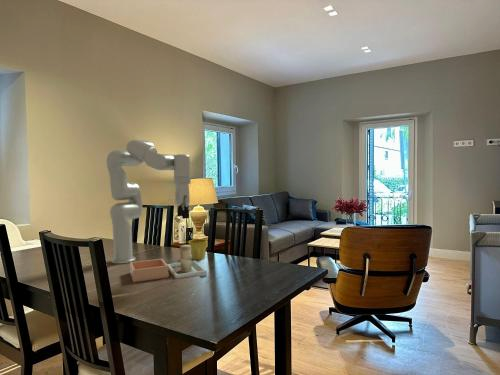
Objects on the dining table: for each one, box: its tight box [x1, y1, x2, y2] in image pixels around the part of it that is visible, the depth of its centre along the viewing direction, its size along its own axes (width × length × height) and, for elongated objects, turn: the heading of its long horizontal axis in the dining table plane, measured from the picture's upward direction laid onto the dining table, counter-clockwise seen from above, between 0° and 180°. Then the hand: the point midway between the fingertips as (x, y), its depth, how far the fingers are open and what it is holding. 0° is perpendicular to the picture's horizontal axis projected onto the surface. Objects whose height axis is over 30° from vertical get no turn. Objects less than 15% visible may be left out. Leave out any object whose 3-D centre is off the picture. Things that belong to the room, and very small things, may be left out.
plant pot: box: [188, 238, 208, 261], centre depth 190 cm, size 10×10×10 cm
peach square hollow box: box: [129, 258, 170, 283], centre depth 157 cm, size 15×15×6 cm
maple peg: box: [179, 244, 193, 273], centre depth 163 cm, size 5×5×12 cm
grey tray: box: [166, 260, 208, 279], centre depth 163 cm, size 20×14×2 cm
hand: (183, 217), depth 163 cm, fingers open, 9 cm apart
